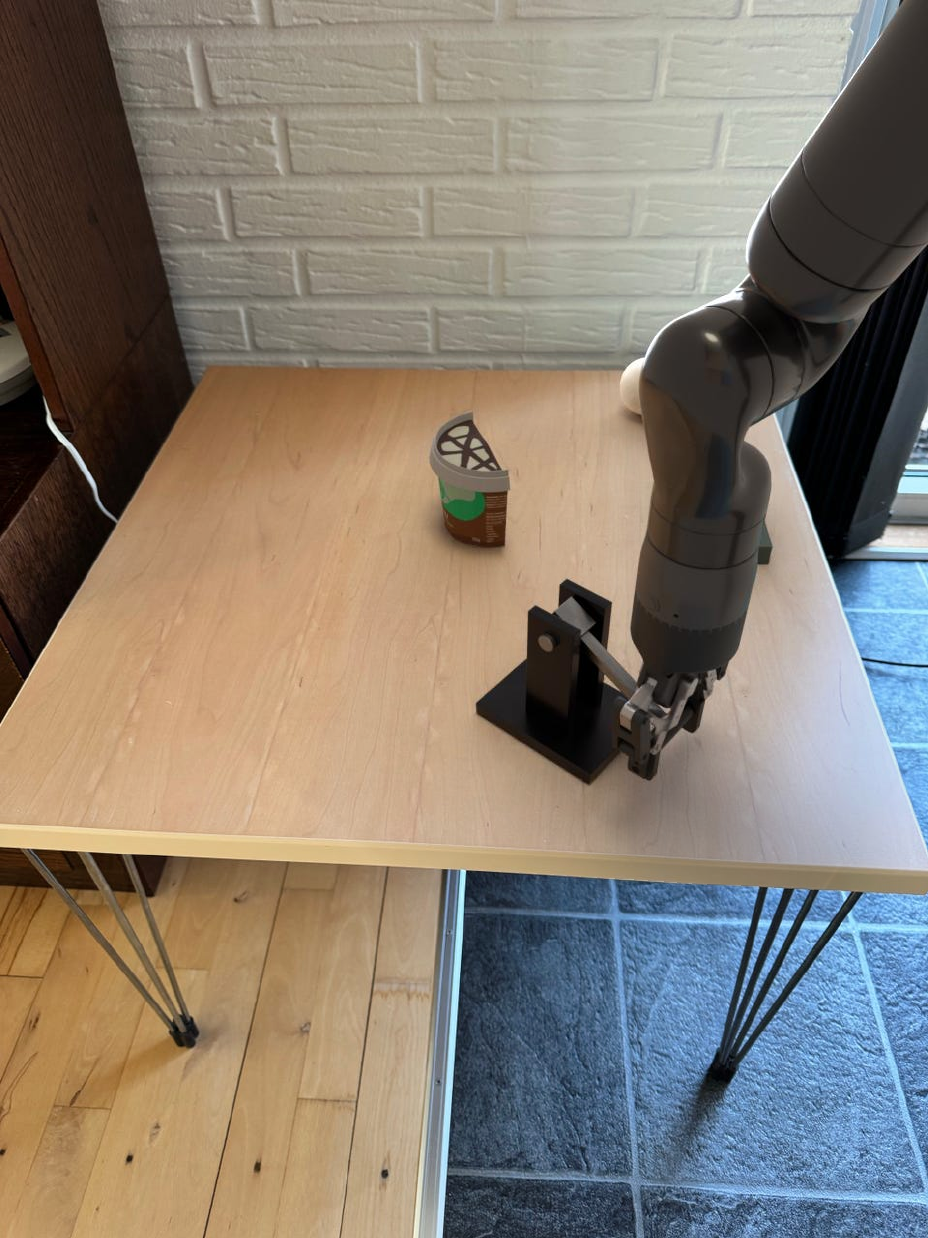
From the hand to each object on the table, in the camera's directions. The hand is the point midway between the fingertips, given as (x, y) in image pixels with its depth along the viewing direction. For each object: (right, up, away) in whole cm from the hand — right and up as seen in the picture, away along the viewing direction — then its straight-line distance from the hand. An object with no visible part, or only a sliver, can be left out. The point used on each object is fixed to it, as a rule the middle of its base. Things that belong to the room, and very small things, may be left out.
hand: (663, 748), depth 76 cm
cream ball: (+7, +36, +43) cm, 56 cm away
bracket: (-7, +2, +7) cm, 10 cm away
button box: (+11, +20, +25) cm, 34 cm away
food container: (-16, +20, +27) cm, 37 cm away
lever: (-4, +6, 0) cm, 7 cm away
